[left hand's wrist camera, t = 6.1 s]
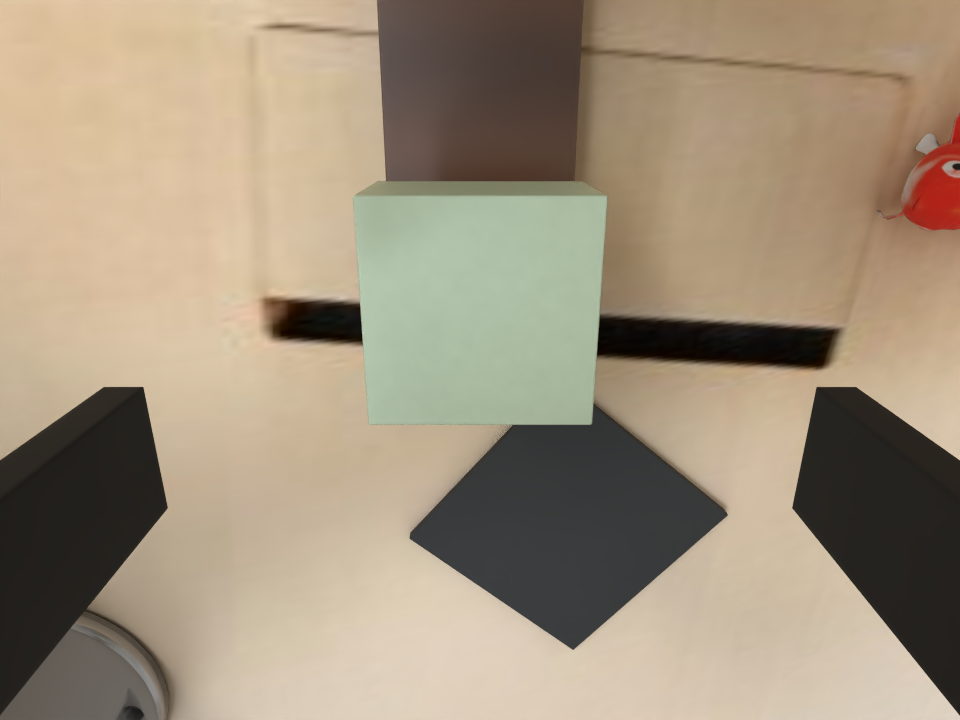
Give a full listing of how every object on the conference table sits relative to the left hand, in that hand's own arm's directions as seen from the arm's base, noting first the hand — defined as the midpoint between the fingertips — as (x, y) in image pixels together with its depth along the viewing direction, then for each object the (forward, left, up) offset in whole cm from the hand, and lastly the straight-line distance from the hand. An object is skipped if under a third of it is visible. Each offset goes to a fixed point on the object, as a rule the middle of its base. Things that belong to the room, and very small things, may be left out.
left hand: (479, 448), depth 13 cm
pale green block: (0, 0, -14) cm, 14 cm away
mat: (-10, -15, -23) cm, 29 cm away
